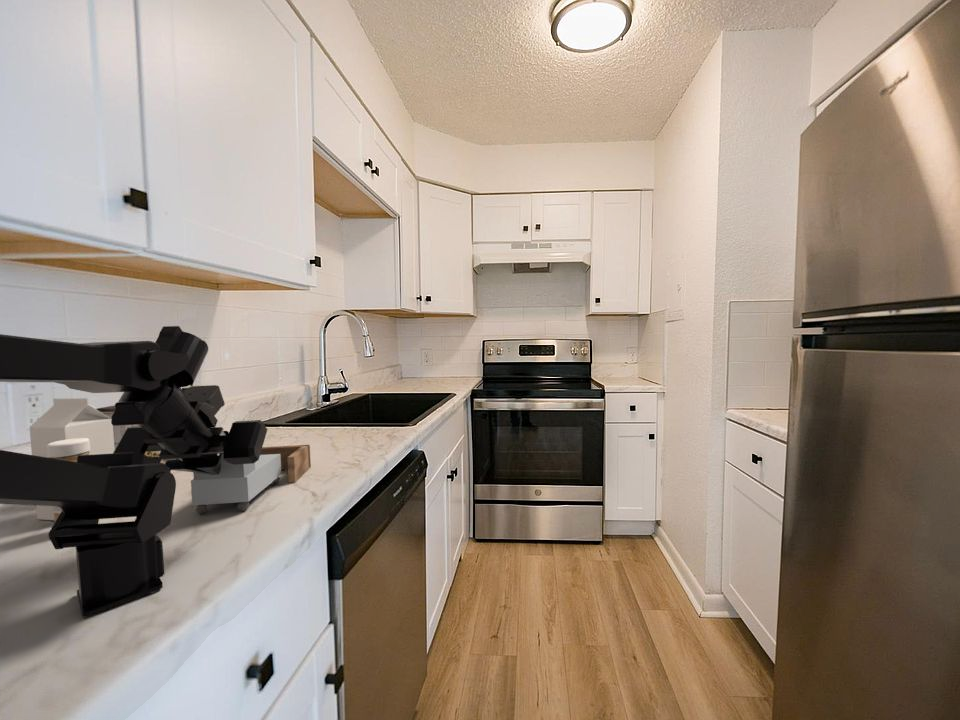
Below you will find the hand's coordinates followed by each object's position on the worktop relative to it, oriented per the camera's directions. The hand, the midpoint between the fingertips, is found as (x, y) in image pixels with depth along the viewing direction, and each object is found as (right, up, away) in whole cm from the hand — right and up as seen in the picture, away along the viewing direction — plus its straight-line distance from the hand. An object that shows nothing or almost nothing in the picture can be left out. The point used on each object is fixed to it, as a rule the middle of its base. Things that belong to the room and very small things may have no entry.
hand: (217, 471), depth 66 cm
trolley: (0, -6, +8) cm, 10 cm away
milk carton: (-25, -8, +3) cm, 26 cm away
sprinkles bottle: (-19, -8, -4) cm, 21 cm away
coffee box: (-26, -7, +17) cm, 32 cm away
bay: (-2, -6, +18) cm, 19 cm away
